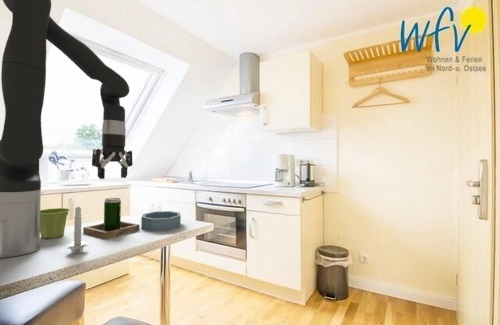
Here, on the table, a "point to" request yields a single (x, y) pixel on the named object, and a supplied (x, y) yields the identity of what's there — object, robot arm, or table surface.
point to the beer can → (112, 214)
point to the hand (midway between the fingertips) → (113, 178)
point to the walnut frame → (97, 231)
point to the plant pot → (53, 222)
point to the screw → (77, 234)
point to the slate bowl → (160, 221)
